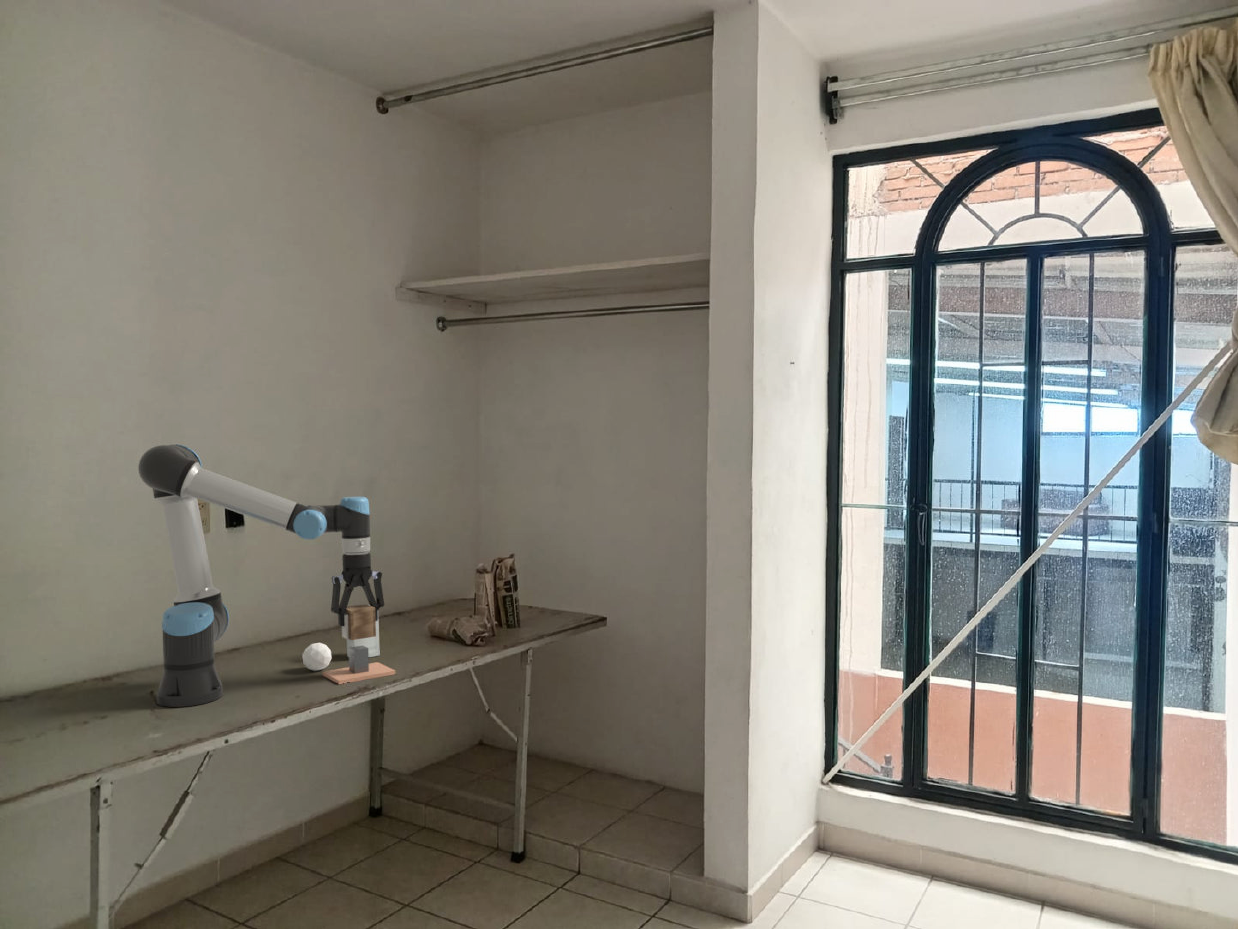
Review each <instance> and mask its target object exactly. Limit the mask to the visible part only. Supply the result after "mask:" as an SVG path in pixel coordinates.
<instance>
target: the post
mask: <svg viewBox="0 0 1238 929" xmlns="http://www.w3.org/2000/svg"><path fill="white" fill-rule="evenodd" d="M369 658H370V657H369V655H368V648H367V647H365V646H363V645H362V646H356V647H350V648H349V657H348V667H349V671H350V672H352V673H354V674H357V673H362V672H368V671H369V664H370V662H369Z"/></svg>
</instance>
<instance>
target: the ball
mask: <svg viewBox="0 0 1238 929" xmlns="http://www.w3.org/2000/svg"><path fill="white" fill-rule="evenodd" d="M301 655H302V657H301V658H302V663H303V665H304V666H305V667H306V668H307V669H308V670H311V671H313V672H317V671H323V669H325V668H327V667H328V666H329V664H330V663H331V660H332V651H331V649H330V648H329V647H328V646H327V644H325V643H322V642H317V643H315V642H314V643H311V644H310V645H308V646H307V647H306V648H305V649H304V651H303V653H302V654H301Z"/></svg>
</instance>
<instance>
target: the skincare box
mask: <svg viewBox="0 0 1238 929" xmlns="http://www.w3.org/2000/svg"><path fill="white" fill-rule="evenodd" d="M368 605H369V606H370V604H368ZM379 626H380V625H379V619H378V620H377V621H376V636H375V637H369V638H363V639H356V640H350V639H346V654H347V655H346V656H347V657H348V658H349V648H350V647H356V646H362V645H363V646H365V647H367V648H368V655H369V658H373V657H379V656H380V655H381V654H380V653H381V652H380V631H379V630H380V628H379Z"/></svg>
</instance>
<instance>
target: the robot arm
mask: <svg viewBox="0 0 1238 929" xmlns="http://www.w3.org/2000/svg"><path fill="white" fill-rule="evenodd" d="M137 469H138V475H139V477H140V479H141V480H142V482H143V483H144V484H145V485H147V486H148V487H149V488H152V489H151V490H152V493H153V498H154V500H155V501H156V502H158V503H160V504H161V505H162V506H161V507H162V512H163V517H164V523H165V529H166V534H167V540H168V545H169V549H170V551H169V552H170V556H171V559H172V560H171V561H172V566H173V570H174V571H173V572H174V578H175V581H176V582H175V583H176V588H177V595H176V596H175V597H174V598H173V600H172V601H173V606H171V607H169V608H167V609H166V610H164V612H163V614H162V621H161V628H162V653H163V655H162V656H163V674H162V676H161V679H160V682H159V685H158V689H157V692H156V704H157V705H158V706H161V707H169V708H184V707H192V706H199V705H204V704H207V703H210V702H214V701H217V700H218V699H220V698H221V697H223V695H224V693H223V692H224V691H223V689H224V687H223V683H222V681H221V679H220V676H219V674H218V671H217V669H216V665H215V642H216V641H218V640H220V639H221V637H222V636H223V635H224V634H225V633H226V631H227V628H228V626H229V621H230V614H229V611H228V610H229V609H227V607H226V605H225V604H224V603H223V598H222V593H221V590H220V589H218V588H217V587H215V586H214V584H213V578H212V572H211V568H210V567H211V566H210V561H209V555H208V551H207V545H206V540H205V533H204V529H203V523H202V518H201V511H200V507H199V502H198V501H199V500H201V501H203V502H206V503H209V504H212V505H215V506H217V507H220V508H223V509H226V510H229V511H233V512H234V513H237V514H240V515H243V516H245V517H248V518H251V519H255V520H257V521H260V522H262V523H265V524H269V525H272V526H275V527H277V528H279V529H282V530H286V531H288V532H291V533H293V534H296V535H297V536H299V538H302V539H303V540H308V541H309V540H316V539H318V538H320V537H321V536H322V535H323V534H325V533H326V534H327V533H341V550H342V551H341V552H342V553H343V554H342V556H341V557H342V558H341V559H342V572H341V574H339V575H336V576H335V575H334V576H331V582H332V594H331V607H330V611H331V612H332V613H334V614H337V616H338V617H337V618H338V626H339V627H341V626H342V629H341V638H343V639H346V640H347V638H348V615H347V614H345V611H346V608H347V606H349V605H348V604H349V602H350V598H351V595H352V592H353V591H354V588H357V587H361V588H362V589H363V592H364V594H365V597H366V599H367V601H368V605H370V606H372V607H375V619H376V621H377V620H378V621H379V610H380V608H383V607H384V606H385V601H384V593H383V592H384V591H383V586H382V577H383V573H382V572H381V571H378V570H377V571H373V570H372V567H371V566H372V557H371V556H372V554H371V553H370V551H371V523H370V522H371V518H370V517H371V516H370V515H371V512H370V504H369V503H370V502H369V499H368V498H367V497H365V496H349V497H348V496H345V497H342V498H340V503H339V504H333V505H330V504H329V505H328V504H327V505H323V504H322V505H310V504H309V505H304V504H301V503H298V502H296V501H293V500H291V499H288V498H285V497H283V496H279V495H277V494H274V493H271V492H268V491H265V490H263V489H260V488H257V487H255V486H252V485H250V484H246V483H244V482H241V481H239V480H235V479H233V478H230V477H227V476H224V475H222V474H219V473H216V472H214V471H211V470H208V469H205V468H203V464H202V461H201V459H200V457H199V455H198V454H197V452H195V451H194V450H193V449H192V448H189V447H187V446H186V445H182V444H166V445H164V444H162V445H156V446H153V447H150V448H149V449H147V450H146V451H145V452H144V453H143V455H141V458H140V460H139V461H138V468H137ZM371 577H372V578H371ZM370 579H373V588H374V593H375V594H374V593H373V591H372V588H371V584H370V582H369V580H370ZM343 581H344V582H345V584H344V588H343V593H342V596H341V584H342V582H343ZM340 598H341V600H340Z"/></svg>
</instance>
